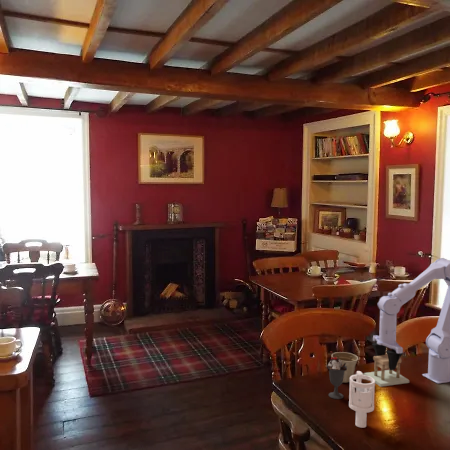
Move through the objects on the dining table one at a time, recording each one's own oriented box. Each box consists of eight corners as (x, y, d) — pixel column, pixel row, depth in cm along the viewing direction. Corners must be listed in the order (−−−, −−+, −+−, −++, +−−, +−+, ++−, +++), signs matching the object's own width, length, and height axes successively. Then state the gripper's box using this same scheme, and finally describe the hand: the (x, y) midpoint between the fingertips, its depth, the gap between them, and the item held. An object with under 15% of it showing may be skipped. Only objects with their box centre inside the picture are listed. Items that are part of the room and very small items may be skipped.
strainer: (368, 419, 138) (370, 370, 136) (376, 431, 131) (378, 380, 129) (345, 419, 137) (346, 370, 136) (352, 431, 130) (354, 380, 129)
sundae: (323, 391, 156) (324, 349, 155) (342, 391, 157) (343, 348, 155) (329, 400, 149) (330, 356, 148) (349, 400, 150) (350, 355, 149)
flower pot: (354, 375, 171) (355, 352, 170) (359, 385, 161) (360, 361, 161) (329, 373, 172) (329, 351, 171) (332, 384, 162) (333, 360, 162)
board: (391, 372, 174) (391, 369, 173) (409, 382, 164) (409, 380, 164) (363, 375, 170) (363, 373, 170) (380, 386, 160) (380, 383, 160)
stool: (372, 375, 168) (373, 356, 168) (391, 372, 171) (391, 354, 170) (382, 380, 163) (382, 361, 163) (400, 378, 166) (401, 359, 165)
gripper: (366, 324, 171) (365, 360, 172) (391, 336, 158) (389, 374, 159) (382, 323, 173) (381, 358, 174) (408, 334, 160) (406, 372, 161)
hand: (386, 366), depth 167 cm, fingers open, 6 cm apart
